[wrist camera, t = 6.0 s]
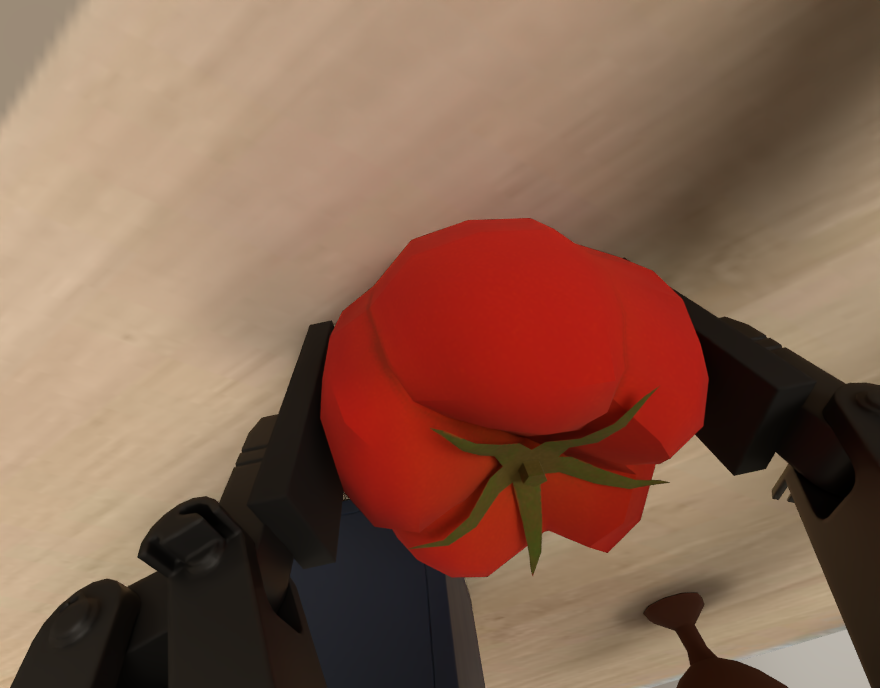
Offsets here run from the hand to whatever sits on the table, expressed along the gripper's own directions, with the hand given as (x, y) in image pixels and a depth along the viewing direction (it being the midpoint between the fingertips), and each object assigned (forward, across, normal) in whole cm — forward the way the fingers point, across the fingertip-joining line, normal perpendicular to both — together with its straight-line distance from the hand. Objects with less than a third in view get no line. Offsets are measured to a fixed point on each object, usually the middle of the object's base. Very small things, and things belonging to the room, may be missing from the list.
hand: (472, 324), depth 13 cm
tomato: (+1, 0, 0) cm, 1 cm away
